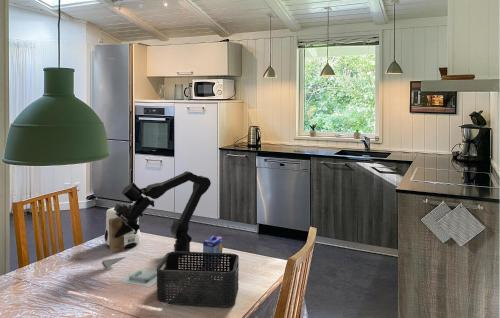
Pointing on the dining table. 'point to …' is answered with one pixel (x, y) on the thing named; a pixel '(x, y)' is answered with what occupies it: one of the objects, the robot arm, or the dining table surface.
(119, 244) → the walnut block
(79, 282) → the dining table surface
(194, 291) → the storage bin
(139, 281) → the pocket board
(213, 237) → the ink cartridge box
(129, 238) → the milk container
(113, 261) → the slate coaster
